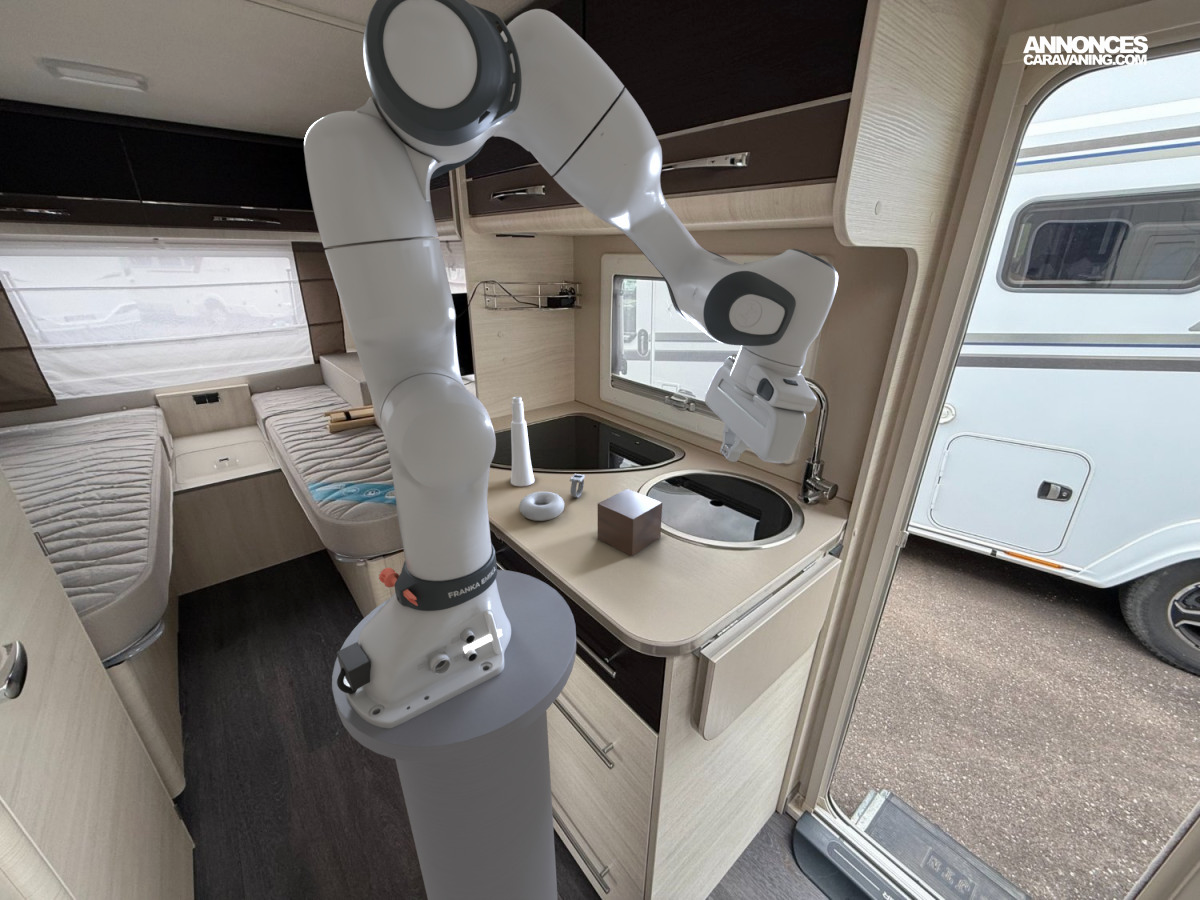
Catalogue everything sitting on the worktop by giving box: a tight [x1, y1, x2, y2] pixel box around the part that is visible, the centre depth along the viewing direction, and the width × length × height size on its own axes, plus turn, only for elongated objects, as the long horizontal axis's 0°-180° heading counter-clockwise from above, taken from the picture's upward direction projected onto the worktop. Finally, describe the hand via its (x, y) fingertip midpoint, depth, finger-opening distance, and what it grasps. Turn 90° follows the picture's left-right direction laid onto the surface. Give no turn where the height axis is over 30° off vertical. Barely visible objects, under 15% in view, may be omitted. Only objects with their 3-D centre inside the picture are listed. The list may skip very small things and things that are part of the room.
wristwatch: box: [569, 473, 586, 499], centre depth 111 cm, size 6×3×5 cm, turn 164°
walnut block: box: [597, 488, 663, 557], centre depth 93 cm, size 9×9×8 cm
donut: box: [518, 490, 565, 522], centre depth 103 cm, size 10×4×10 cm
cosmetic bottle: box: [510, 396, 535, 487], centre depth 115 cm, size 6×6×22 cm
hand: (727, 456), depth 73 cm, fingers closed
